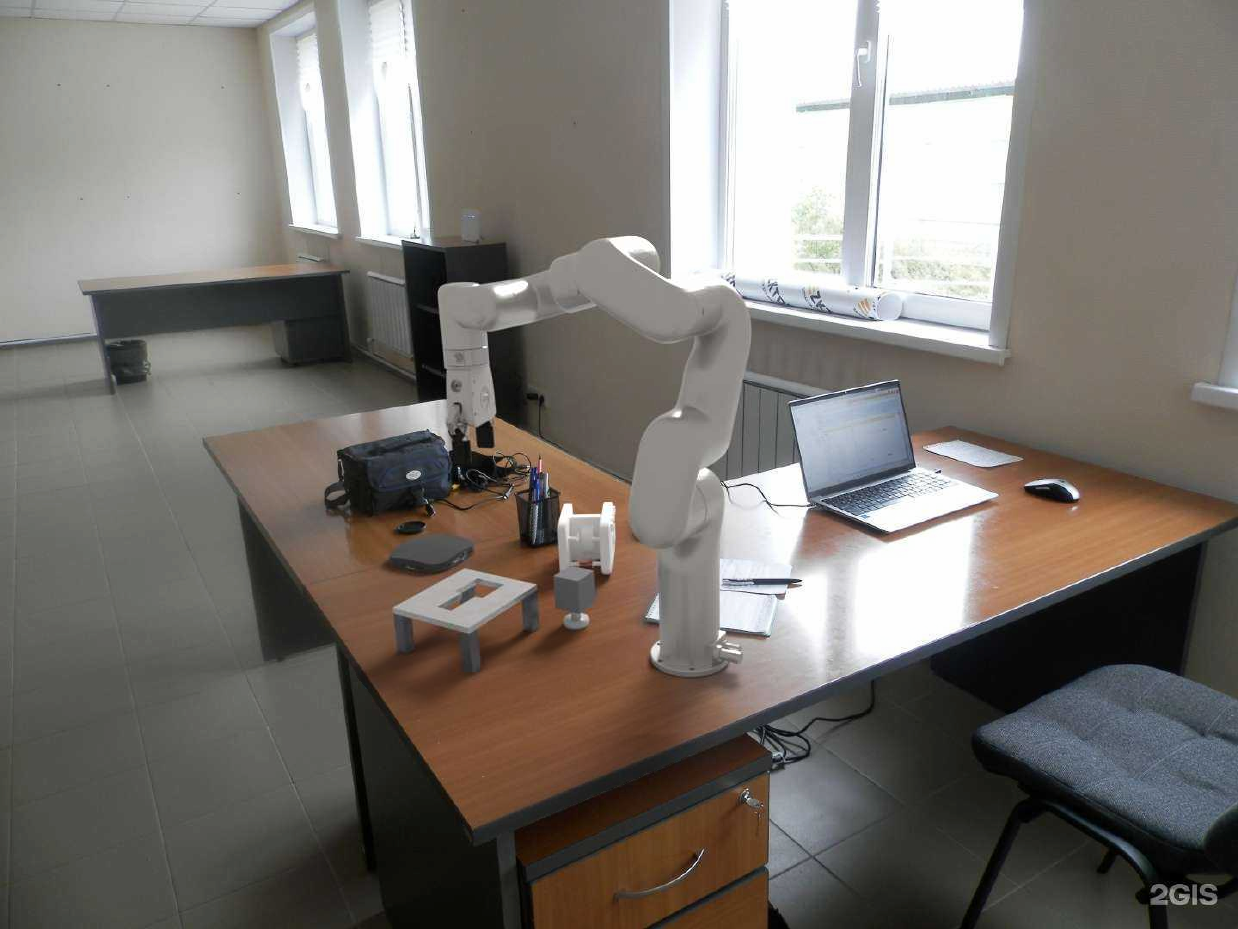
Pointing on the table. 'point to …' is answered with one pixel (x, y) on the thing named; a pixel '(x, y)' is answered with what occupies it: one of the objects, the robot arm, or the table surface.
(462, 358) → the robot arm
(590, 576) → the peg
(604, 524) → the cable organizer
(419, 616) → the miniature table
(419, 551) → the media streaming box
